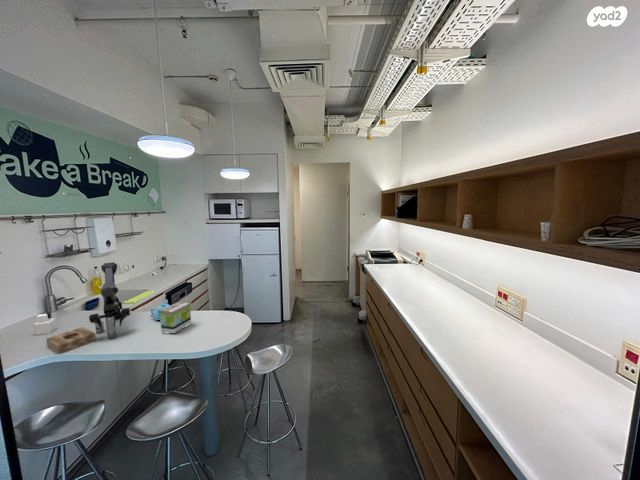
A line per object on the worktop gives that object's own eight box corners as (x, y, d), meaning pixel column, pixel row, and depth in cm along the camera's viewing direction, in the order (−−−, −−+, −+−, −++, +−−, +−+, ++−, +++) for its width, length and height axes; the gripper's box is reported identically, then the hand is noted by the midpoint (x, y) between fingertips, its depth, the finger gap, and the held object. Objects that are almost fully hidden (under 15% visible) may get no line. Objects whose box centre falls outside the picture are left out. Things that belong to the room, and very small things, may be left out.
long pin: (114, 335, 156) (112, 315, 155) (117, 337, 155) (115, 316, 153) (106, 338, 153) (104, 317, 151) (109, 340, 151) (107, 319, 149)
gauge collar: (83, 333, 158) (82, 327, 158) (95, 340, 151) (95, 333, 150) (47, 346, 145) (46, 338, 144) (58, 354, 137) (57, 346, 136)
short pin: (102, 330, 164) (101, 321, 163) (105, 331, 162) (104, 322, 161) (94, 332, 160) (93, 323, 159) (97, 334, 158) (96, 325, 157)
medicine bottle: (42, 330, 163) (39, 312, 162) (56, 328, 166) (54, 310, 164) (34, 335, 157) (31, 316, 155) (50, 333, 159) (47, 314, 157)
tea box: (175, 335, 158) (173, 311, 156) (160, 333, 160) (159, 310, 158) (191, 324, 172) (190, 302, 170) (178, 322, 174) (177, 301, 172)
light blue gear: (147, 319, 179) (146, 305, 178) (169, 311, 192) (168, 298, 190) (159, 324, 172) (157, 309, 170) (181, 316, 184) (180, 302, 183)
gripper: (87, 301, 148) (87, 327, 141) (128, 295, 159) (129, 318, 152) (90, 310, 156) (90, 335, 148) (129, 303, 167) (130, 326, 159)
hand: (111, 328), depth 152 cm, fingers open, 8 cm apart
